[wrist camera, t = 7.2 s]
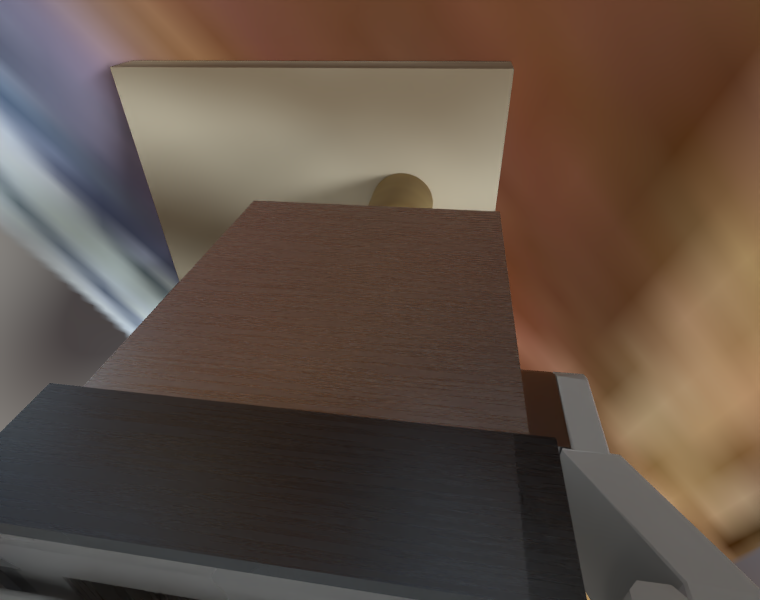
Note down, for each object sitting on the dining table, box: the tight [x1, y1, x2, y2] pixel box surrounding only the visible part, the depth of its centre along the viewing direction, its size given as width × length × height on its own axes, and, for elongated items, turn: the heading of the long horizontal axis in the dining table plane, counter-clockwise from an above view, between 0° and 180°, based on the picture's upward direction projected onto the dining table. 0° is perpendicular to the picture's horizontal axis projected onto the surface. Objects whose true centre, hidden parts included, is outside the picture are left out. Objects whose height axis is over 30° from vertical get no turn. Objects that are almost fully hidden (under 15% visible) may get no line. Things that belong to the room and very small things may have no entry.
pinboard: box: [110, 61, 514, 281], centre depth 15 cm, size 12×12×6 cm
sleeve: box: [0, 201, 587, 600], centre depth 8 cm, size 5×5×7 cm
